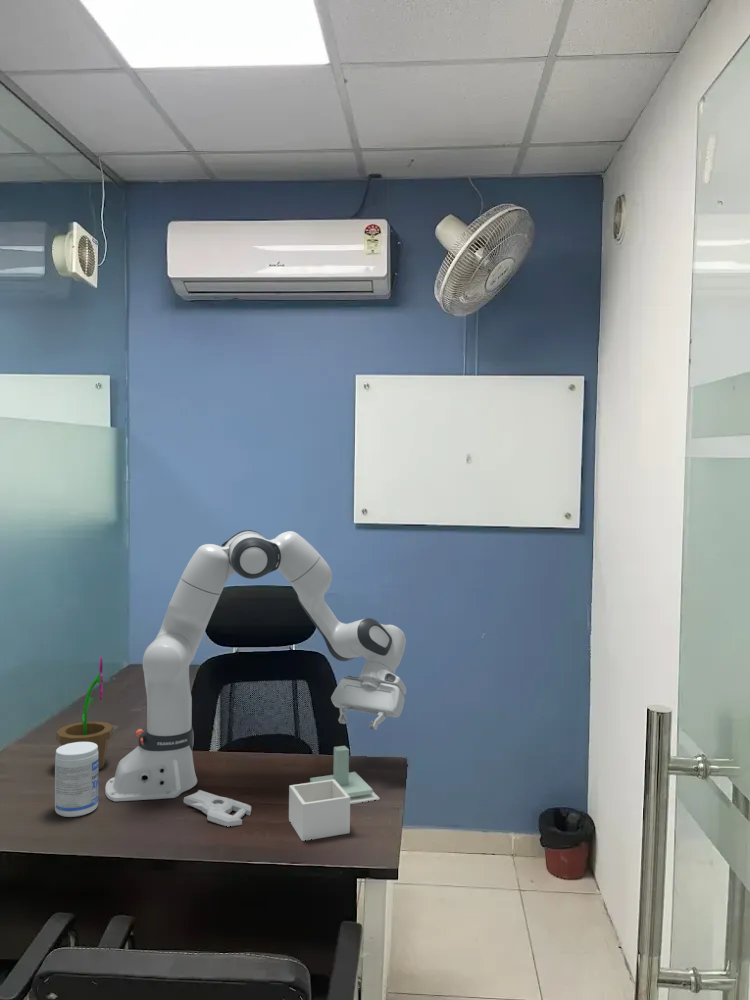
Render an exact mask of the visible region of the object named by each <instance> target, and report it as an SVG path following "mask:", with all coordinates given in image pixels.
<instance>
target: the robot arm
mask: <svg viewBox="0 0 750 1000" xmlns="http://www.w3.org/2000/svg"><path fill="white" fill-rule="evenodd" d="M274 571H275V572H276V571H278V572H279V573H280V574H281V575H282V576H283V577H284V578H285V579H286V581H287V582H288V583H289V584H290V586H291V587H292V588H293V590H294V591H295V593H296V594H297V600H298V602H299V605H300V606H301V607H302V609H303V610H304V612H305V614H306V615H307V616H308V618H309V619H310V621H311V622H312V623H313V625H314V627H316V629H317V631H318V632H319V633H320V635H321V636H322V638H323V640H324V642H325V645H326V647H327V649H328V652H329V653H330V655H331V656H332V657H333V658H334V659H335V660H338V661H340V662H348V661H350V660H351V661H352V660H353V659H355V658H360V657H362V658H364V659H365V663H364V666H363V668H362V670H361V672H360V674H359V676H352V675H347V676H344V677H342V678H341V679H340V681H339V683H337V686H336V687H335V688H334V691H333V693H332V695H331V697H330V699H331V703H332V705H334V707H335V708H338V709H339V717H338V719H337V720H338V722H339V724H343V725H346V723H347V721H348V717H347V716H346V713H348V710H349V711H354V712H360V713H365V714H371V715H376V716H377V717H376V718H375V719H374V720H370V723H369V728H370V730H375V731H377V730H378V727H379V725H381V724H382V723H383V722H384V721H385V720H386V718H387V717H388V718H393V719H397V718H399V717H400V716H401V715H402V711H403V709H404V705H405V695H406V694H407V692H408V691H407V688H406V686H405V684H404V682H403V680H402V679H401V677H400V676H398V675H396V670H397V668H398V667H399V665H400V663H401V661H402V659H403V655H404V652H405V649H406V643H407V639H406V638H407V637H406V635H405V633H404V631H403V630H402V629H401V628H399V627H398V626H396V625H394V624H383V623H380V622H379V621H377V620H376V619H374V618H371V617H368V618H367V617H366V618H363V619H359V620H355V621H353V622H349V623H345V622H341V621H339V619H338V618H337V616H336V615H335V614H334V613H333V611H332V609H331V608H330V607H329V605H328V604H327V602H326V600H325V594H326V593H327V592H328V590H329V588H331V584H332V581H333V572H332V570H331V567H330V565H329V564H328V562H327V561H326V560H325V559H324V558H323V556H322V554H320V553H319V552H318V551H317V549H316V548H315V547H313V545H312V544H311V543H310V542H308V541H307V539H305V538H304V537H303V536H301V535H300V534H299V533H297V532H295V531H292V530H290V531H284V532H282V533H280V534H278V535H277V536H276V537H274V538H272V539H267V538H265V536H263V535H262V533H261V534H260V533H259V532H258V531H255V530H251V529H245V530H241V531H239V532H236V533H235V534H234V535H232V536H231V537H230V538H229V539H227V540H225V542H223V543H222V544H221V546H220V545H217V544H213V543H205V544H202V545H200V546H199V547H198V548H197V549H196V551H195V552H194V553H193V554H192V556H191V558H190V559H189V561H188V563H187V565H186V566H185V568H184V570H183V572H182V574H181V577H180V578H179V581H178V583H177V585H176V588H175V590H174V592H173V595H172V596H171V599H170V601H169V603H168V606H167V609H166V612H165V615H164V618H163V621H162V624H161V627H160V629H159V630H158V633H157V635H156V636H155V639H154V640H153V641H152V642H151V643H150V644H149V645H148V646H147V647H146V649H145V651H144V652H143V657H142V670H143V675H144V686H145V692H146V701H147V707H146V708H147V709H146V710H147V711H146V712H147V714H146V720H147V721H146V722H147V724H146V729H145V730H143V729H142V728H139V729H137V730H136V731H135V735H136V738H137V739H138V746H136V747H135V748H134V749H133V750H131V751H130V752H129V753H128V754H127V755H125V756H124V757H123V758H122V759H120V761H119V762H118V763H117V766H116V768H115V769H116V770H115V774H114V777H111V778H109V780H107V782H106V784H105V786H104V787H105V788H104V793H105V796H106V798H107V799H109V800H110V801H113V802H131V801H143V800H144V801H145V800H147V801H148V800H161V799H163V800H164V799H175V798H177V797H179V796H180V795H181V794H182V793H185V792H186V791H189V790H191V789H192V788H194V787H195V786H196V785H197V783H198V778H197V776H196V775H197V774H196V772H195V771H196V770H195V766H194V765H195V764H194V758H193V747H194V728H193V726H192V716H193V715H192V710H193V709H192V708H193V707H192V706H193V704H192V703H193V702H192V701H193V700H192V699H193V698H192V692H191V686H190V685H191V683H190V665H191V663H192V661H193V660H194V659H195V655H196V654H197V650H198V649H199V647H200V644H201V641H202V639H203V636H204V634H205V632H206V629H207V626H208V624H209V622H210V619H211V617H212V615H213V612H214V611H215V609H216V606H217V604H218V602H219V599H220V597H221V595H222V592H223V590H224V587H225V586H226V583H227V582H228V580H229V578H230V577H231V576H232V575H234V574H236V573H237V575H239V576H240V577H242V578H245V579H249V580H254V579H255V580H256V579H259V578H262V577H264V576H266V575H268V574H270V573H272V572H274Z"/></svg>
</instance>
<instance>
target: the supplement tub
mask: <svg viewBox="0 0 750 1000" xmlns="http://www.w3.org/2000/svg"><path fill="white" fill-rule="evenodd" d="M54 757H55V758H54V761H55V762H54V810H55V813H56V814H57V815H58V816H61V817H66V818H72V817H73V818H77V817H80V816H85V815H87V814H89V813H92V812H94V811H95V810H96V809H97V808H98V807H99V806H98V805H99V770H98V745H97V744H95V743H92V742H74V743H69V744H65V745H63V746H61V745H60V746H59V747H58V748H56V750H55V756H54Z"/></svg>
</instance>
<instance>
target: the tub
mask: <svg viewBox="0 0 750 1000" xmlns="http://www.w3.org/2000/svg"><path fill="white" fill-rule="evenodd" d="M288 791H289V792H288V821H289V823H290V822H291V823H290V824H291V826H292V827H293V829H294V830H295V832H296V834H297V835H298V837H299V839H300V840H301V841H302V842H306V841H312V840H317V839H322V838H323V839H324V838H328V837H335V836H339V835H346V834H351V833H350V832H351V804H350V796H349V795H348V794H347V793H346V792H345V791H344V790H343V788H342V787H341V786H340V785H339V784H338V783H337V782H336V780H335V779H332V780H325V781H318V782H311V783H310V782H304V783H299V784H298V783H297V784H291V785H289V787H288ZM311 839H312V840H311ZM305 840H306V841H305Z"/></svg>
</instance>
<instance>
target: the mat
mask: <svg viewBox="0 0 750 1000" xmlns="http://www.w3.org/2000/svg"><path fill="white" fill-rule="evenodd" d="M374 800H376V801H380V797H379V796H378V795H377V794H376V793H375V792H374V791H373V794H367V795H360V796H354V797H350V805H356V804H361V803H362V802H363V803H368V801H369V802H375V801H374Z"/></svg>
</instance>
